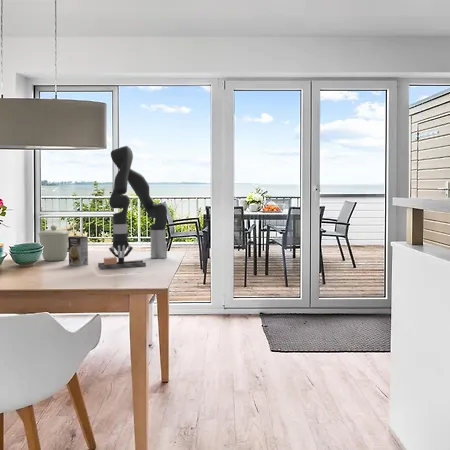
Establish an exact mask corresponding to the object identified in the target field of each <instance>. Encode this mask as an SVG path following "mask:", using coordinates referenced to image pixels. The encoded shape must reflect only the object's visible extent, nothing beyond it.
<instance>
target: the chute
mask: <svg viewBox="0 0 450 450" xmlns="http://www.w3.org/2000/svg"><path fill="white" fill-rule="evenodd" d="M97 267H98V268H99V270H115V269H129V268H143V267H144V268H145V267H147V262H145V261H144V260H129V261H128V260H127V261H125V260H124V264H119V263H118V261H117V264H111V265H104V262H98V263H97Z"/></svg>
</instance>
